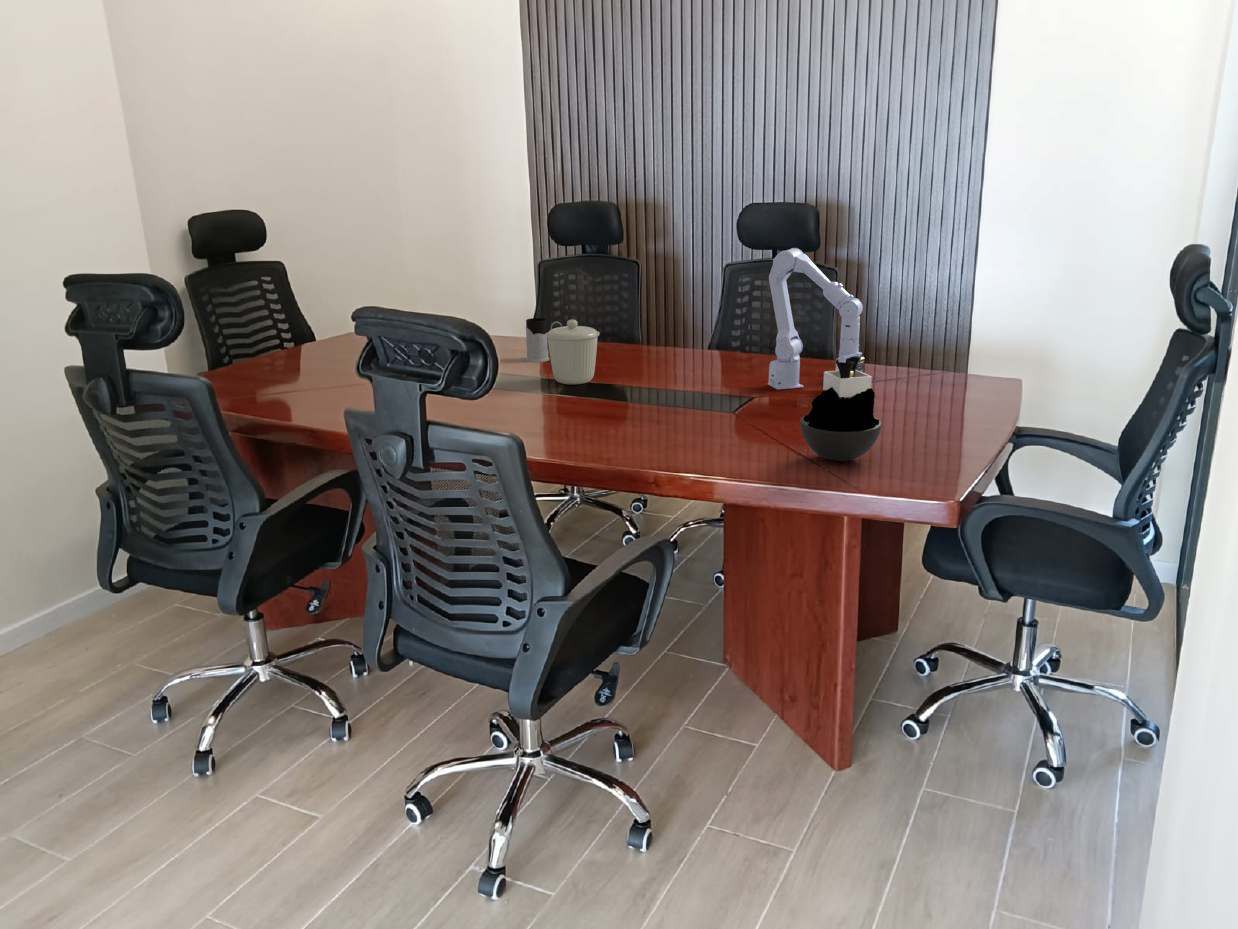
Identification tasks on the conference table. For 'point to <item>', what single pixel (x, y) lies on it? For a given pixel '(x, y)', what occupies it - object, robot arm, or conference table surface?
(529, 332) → the glass holder
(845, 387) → the white open box
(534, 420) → the conference table surface
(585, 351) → the canister
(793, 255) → the robot arm
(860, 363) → the medicine bottle
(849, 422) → the coal bowl
